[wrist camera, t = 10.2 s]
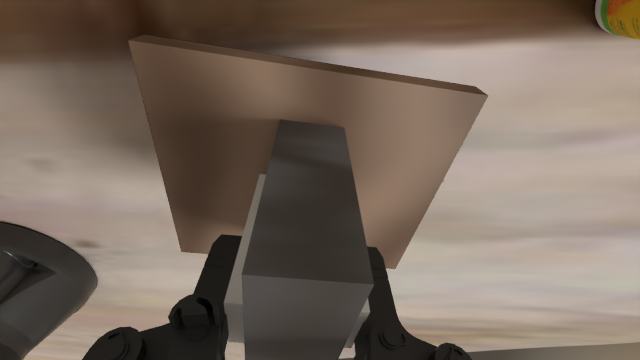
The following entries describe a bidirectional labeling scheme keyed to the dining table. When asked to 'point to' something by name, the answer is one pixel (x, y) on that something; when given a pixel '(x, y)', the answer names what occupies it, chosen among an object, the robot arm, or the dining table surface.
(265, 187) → the walnut lid
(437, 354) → the robot arm
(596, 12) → the supplement bottle
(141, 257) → the dining table surface
